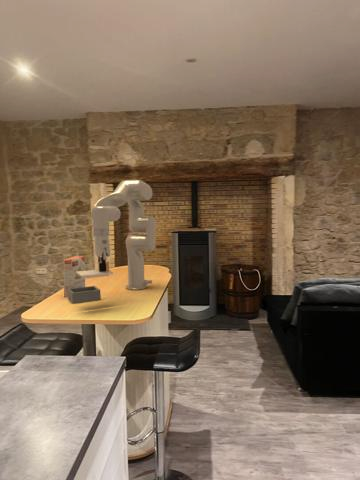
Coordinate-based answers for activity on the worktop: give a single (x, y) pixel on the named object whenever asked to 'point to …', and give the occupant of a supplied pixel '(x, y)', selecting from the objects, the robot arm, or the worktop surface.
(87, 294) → the tub
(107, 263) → the lid
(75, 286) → the cracker box
